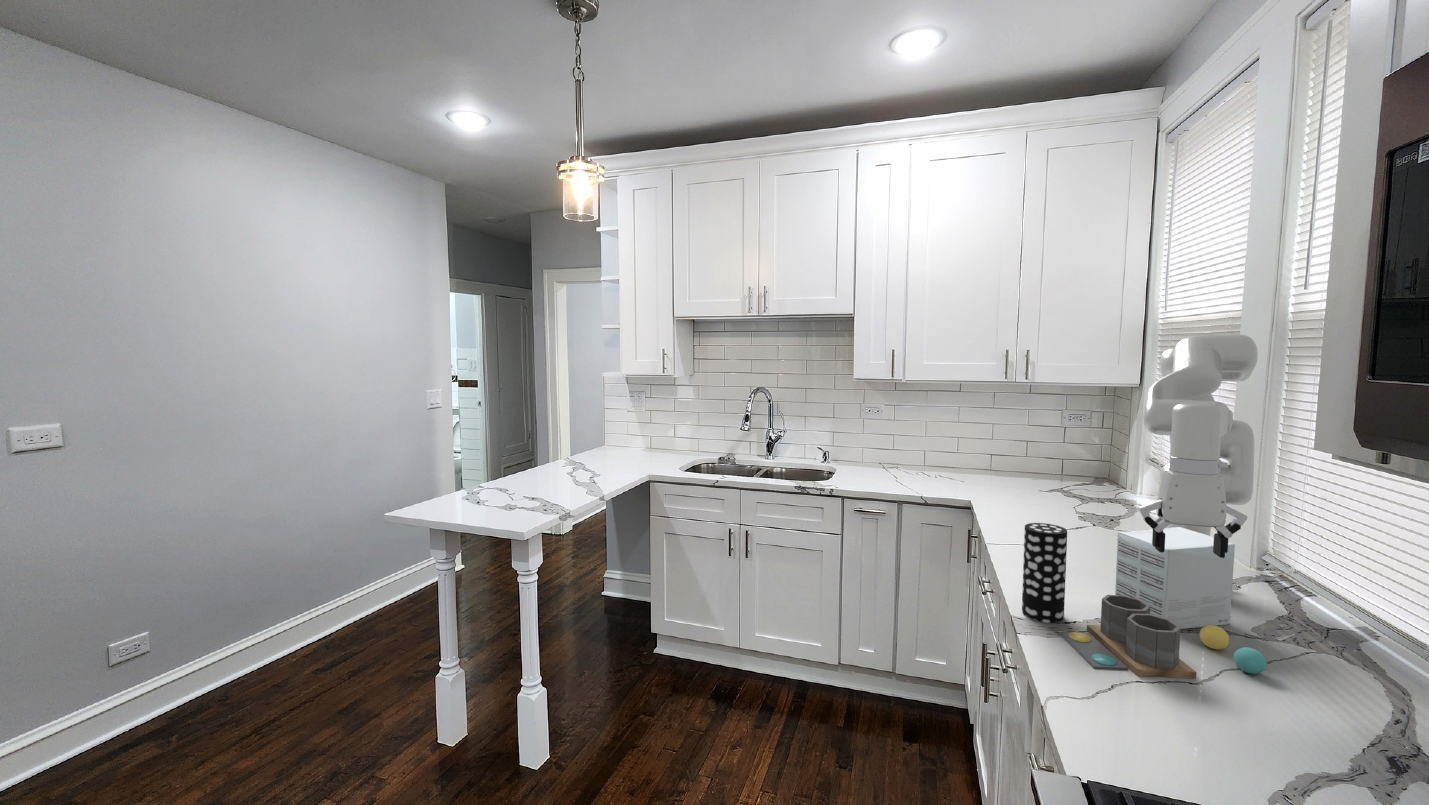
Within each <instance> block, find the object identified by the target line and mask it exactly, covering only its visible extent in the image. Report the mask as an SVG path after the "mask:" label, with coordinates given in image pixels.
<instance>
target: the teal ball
mask: <svg viewBox="0 0 1429 805" xmlns="http://www.w3.org/2000/svg"><path fill="white" fill-rule="evenodd" d="M1233 660H1234V661H1233V662H1234V663H1235V665H1236V667H1238V668H1239V669H1240V670H1241V671H1242V672H1245V673H1247V674H1251V675H1258V674H1261V673H1263V672H1264V671H1265V670H1266V668H1267V665H1268V664H1267V660H1266V657H1265V656H1264V655H1263V654H1262V653H1261V652H1260V651H1259V650H1257V649H1255V648H1252V647H1240V648H1238V649H1237V650H1235V652H1234V654H1233Z"/></svg>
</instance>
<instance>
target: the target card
mask: <svg viewBox="0 0 1429 805" xmlns="http://www.w3.org/2000/svg"><path fill="white" fill-rule="evenodd" d="M1058 634H1059V635H1060V636H1061V637H1062V638H1063V639H1064V640H1065V641H1066V642H1067V644H1069V645H1070V646H1071V647H1072V648H1073V649H1074V650H1075V651H1076V653H1078V654H1079V655H1080V656H1081V657H1082V658H1083V659H1084V660H1085V661H1086V662H1087V663H1088V665H1090V666H1091V667H1092V668H1093V669H1095V670H1097V669H1098V670H1125V671H1126V670H1127V671H1129V668H1128V667H1127V666H1126V665H1125V664H1124V663H1123V662H1122V661H1120V660H1119V659H1118V658H1117V657H1116V656H1115V655H1114V654H1113V653H1112V652H1110V651H1109V650H1108V649H1107V648H1106V647H1105V646H1104V645H1103V644H1102V643H1100V642H1099V641H1098V640H1097V639H1096V638H1095V637H1094V636H1093V635H1092V634H1090V633H1089V632H1088V631H1087V632H1086V631H1085V632H1082V631H1080V632H1079V631H1058Z"/></svg>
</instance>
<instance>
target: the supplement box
mask: <svg viewBox="0 0 1429 805" xmlns="http://www.w3.org/2000/svg"><path fill="white" fill-rule="evenodd" d="M1163 532H1164V533H1165V551H1164V552H1163V553H1162V552H1159V551H1158V550H1156V549H1155V547H1154V546H1153V545H1152V536H1153V529H1152V528H1151V529H1141V530H1132V531H1131V530H1130V531H1118V532H1117V539H1116V540H1117V541H1116V542H1117V543H1116V568H1115V569H1116V570H1115V591H1114V592H1115V594H1114V595H1124V596H1128V597H1132V598H1136V599H1139V600H1142V601H1143V602H1145V603H1146V604H1148V605H1149V606H1150V614H1152V615H1155V616H1159V617H1162V618H1166V619H1169V620H1171V621H1173V622H1174V623H1175V624H1177V625H1178V626H1180V627H1181V630H1184V629H1193V628H1203V627H1205V626H1208V625H1214V626H1224V625H1229V624H1230V623H1231V614H1232V613H1231V612H1232V598H1233V597H1232V596H1233V579H1234V565H1235V563H1234V562H1235V550H1236V549H1235V548H1236V544H1235V543H1233V542H1230V541H1228V552H1227V553H1225V558H1220V557H1219V556H1217V555H1216V554H1214V553H1213V544H1214V536H1212V535H1210V536H1208V535H1205V534H1202V533H1198V532H1195V531H1191V530H1188V529H1185V528H1181V527H1173V528H1165V529H1164V530H1163Z"/></svg>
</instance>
